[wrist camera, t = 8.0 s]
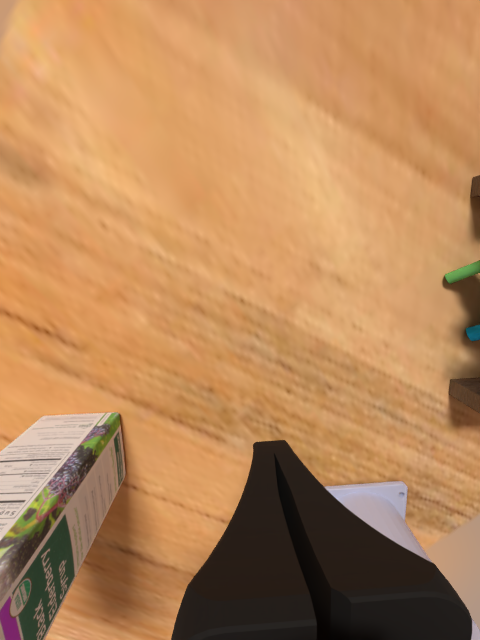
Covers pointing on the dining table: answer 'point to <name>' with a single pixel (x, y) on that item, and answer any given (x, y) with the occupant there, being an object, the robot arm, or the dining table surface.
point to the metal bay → (468, 390)
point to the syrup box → (52, 513)
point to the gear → (475, 331)
